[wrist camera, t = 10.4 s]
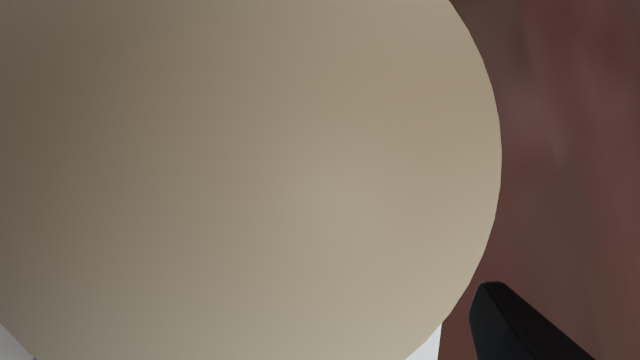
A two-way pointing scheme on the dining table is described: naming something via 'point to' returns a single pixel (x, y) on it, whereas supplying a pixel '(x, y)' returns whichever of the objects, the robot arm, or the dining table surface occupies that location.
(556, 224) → the dining table surface
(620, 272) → the dining table surface
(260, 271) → the peg
